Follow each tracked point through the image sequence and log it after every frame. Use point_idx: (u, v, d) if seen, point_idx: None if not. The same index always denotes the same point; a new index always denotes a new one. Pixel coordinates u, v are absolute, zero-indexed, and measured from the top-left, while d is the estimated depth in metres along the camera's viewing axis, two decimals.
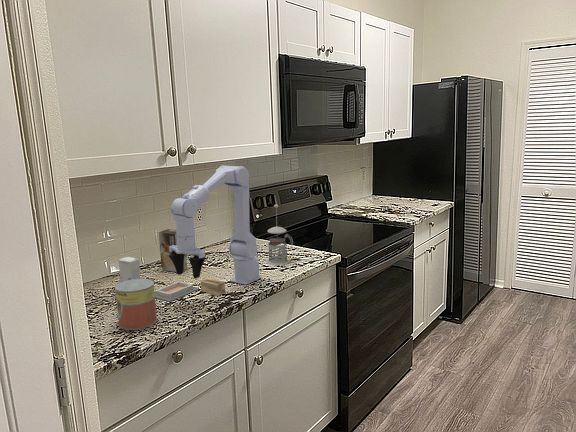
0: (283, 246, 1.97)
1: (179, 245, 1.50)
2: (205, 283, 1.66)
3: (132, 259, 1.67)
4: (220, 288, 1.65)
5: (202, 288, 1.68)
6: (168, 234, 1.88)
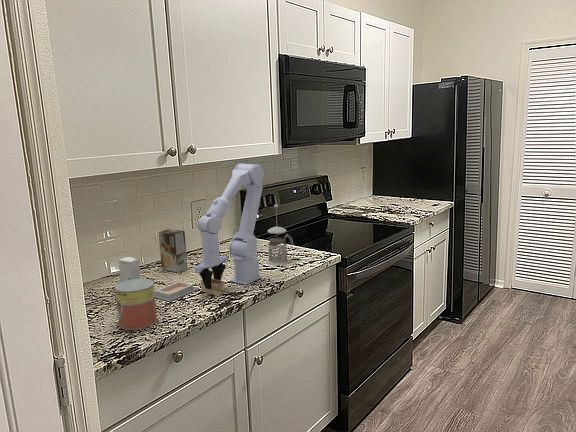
0: (283, 246, 1.97)
1: None
2: None
3: (132, 259, 1.67)
4: (220, 288, 1.64)
5: (202, 287, 1.68)
6: (168, 234, 1.88)
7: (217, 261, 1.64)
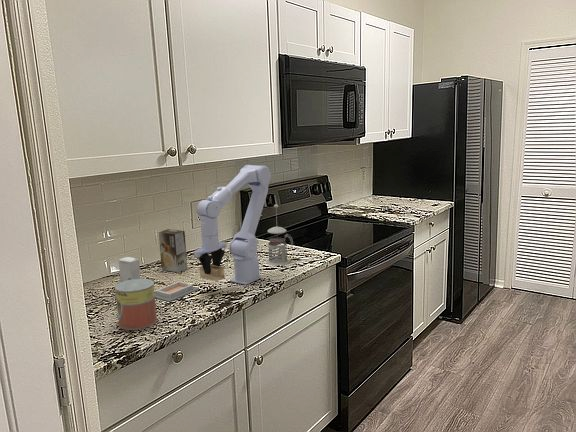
0: (283, 246, 1.97)
1: None
2: None
3: (132, 259, 1.67)
4: (219, 274, 1.64)
5: (201, 274, 1.66)
6: (168, 234, 1.88)
7: (216, 246, 1.63)
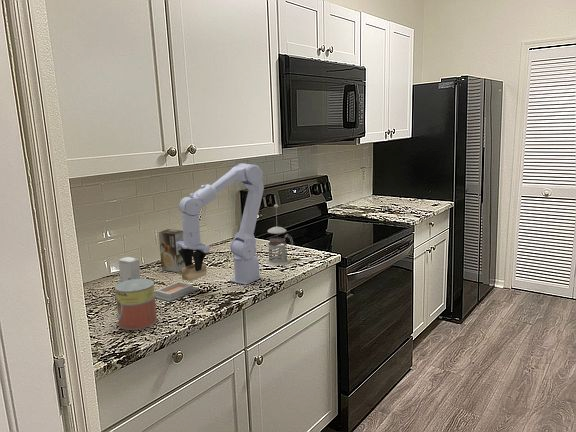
0: (283, 246, 1.97)
1: (185, 241, 1.61)
2: (194, 269, 1.63)
3: (132, 259, 1.67)
4: None
5: (191, 276, 1.62)
6: (168, 234, 1.88)
7: None
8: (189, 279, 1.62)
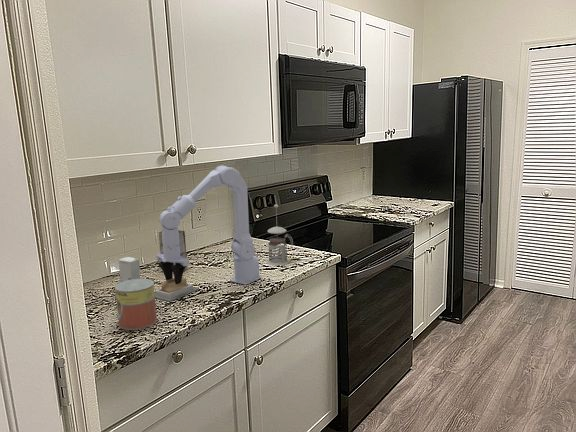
0: (283, 246, 1.97)
1: (165, 254, 1.62)
2: (174, 283, 1.64)
3: (132, 259, 1.67)
4: None
5: (171, 291, 1.63)
6: None
7: None
8: None
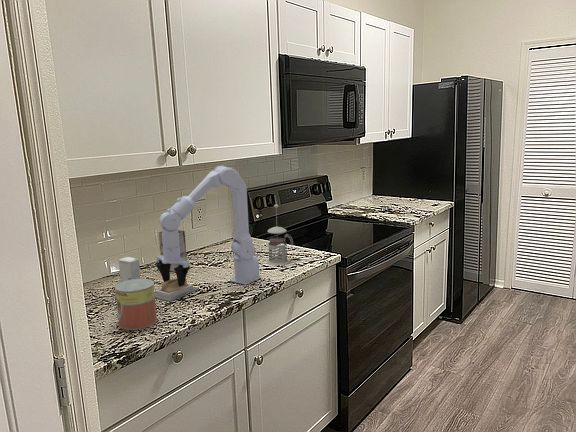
0: (283, 246, 1.97)
1: (165, 256, 1.62)
2: (174, 284, 1.64)
3: (132, 259, 1.67)
4: None
5: (171, 291, 1.63)
6: None
7: None
8: None
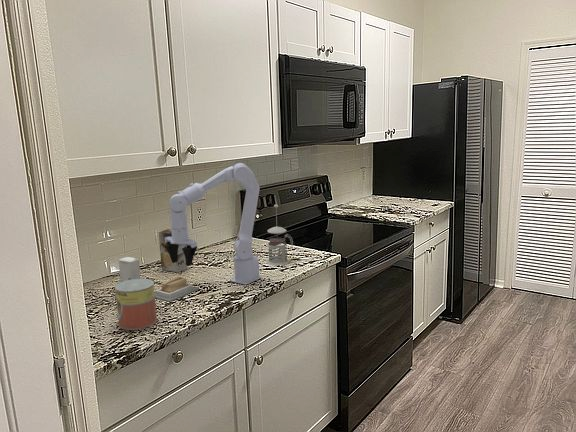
0: (283, 246, 1.97)
1: (173, 236, 1.68)
2: (174, 284, 1.64)
3: (132, 259, 1.67)
4: None
5: (171, 291, 1.63)
6: (168, 234, 1.88)
7: None
8: None
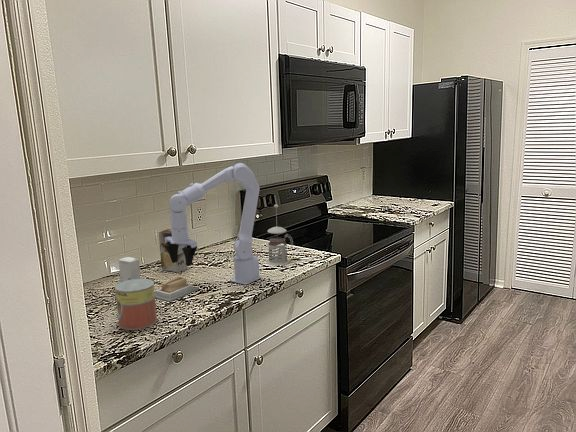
0: (283, 246, 1.97)
1: (173, 236, 1.68)
2: (174, 284, 1.64)
3: (132, 259, 1.67)
4: None
5: (171, 291, 1.63)
6: (168, 234, 1.88)
7: None
8: None
